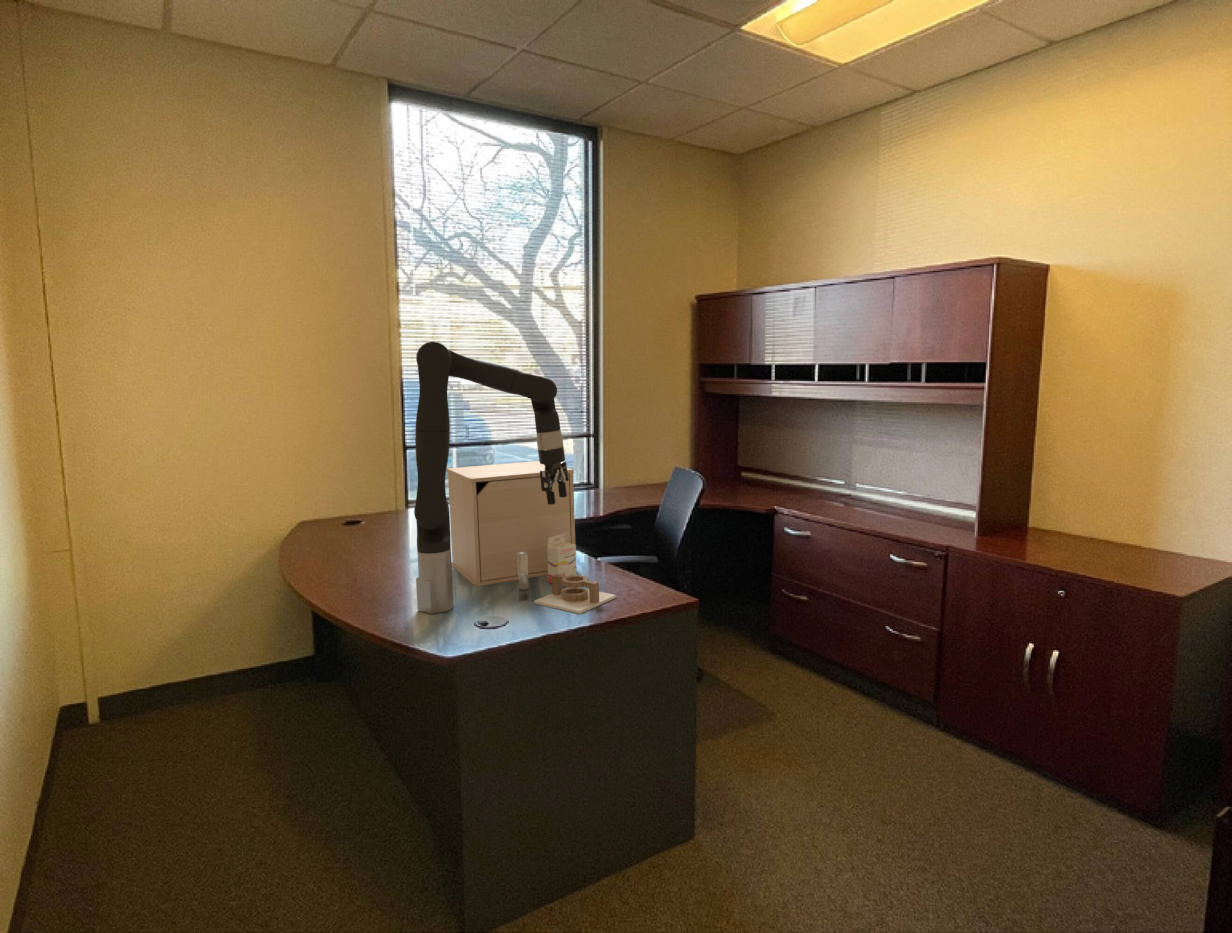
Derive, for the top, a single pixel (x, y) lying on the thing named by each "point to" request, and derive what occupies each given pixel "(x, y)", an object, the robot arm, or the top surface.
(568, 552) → the ink cartridge box
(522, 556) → the tube
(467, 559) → the cabinet
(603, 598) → the dock
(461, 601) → the top surface
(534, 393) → the robot arm
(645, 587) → the top surface
